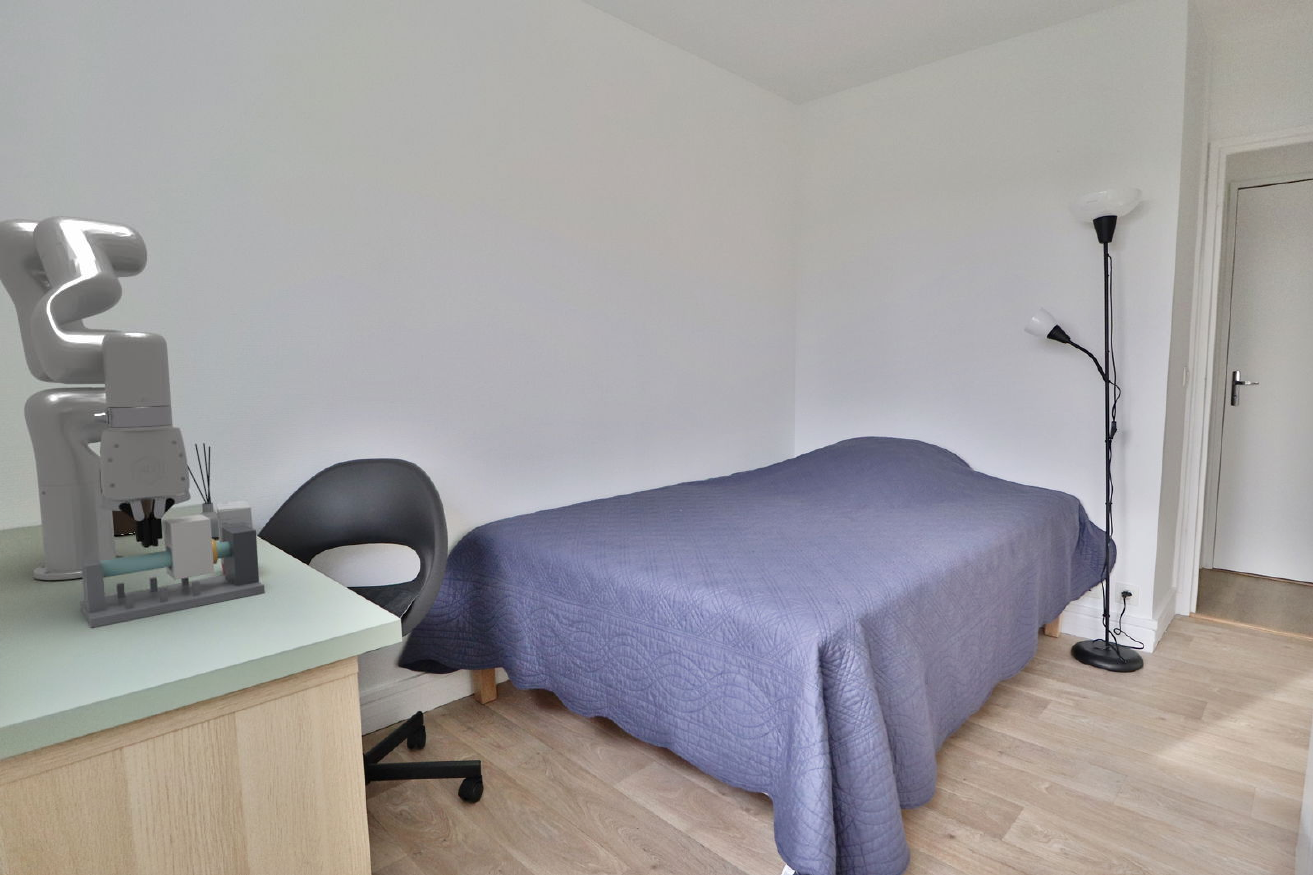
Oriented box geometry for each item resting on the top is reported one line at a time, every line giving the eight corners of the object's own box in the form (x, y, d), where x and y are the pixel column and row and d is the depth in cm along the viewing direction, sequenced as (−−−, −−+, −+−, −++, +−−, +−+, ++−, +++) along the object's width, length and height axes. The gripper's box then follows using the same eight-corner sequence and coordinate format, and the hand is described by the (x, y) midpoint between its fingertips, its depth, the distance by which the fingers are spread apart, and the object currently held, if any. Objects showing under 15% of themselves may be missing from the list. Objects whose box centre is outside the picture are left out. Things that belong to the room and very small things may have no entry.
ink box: (257, 576, 118) (253, 506, 117) (222, 581, 116) (217, 510, 115) (253, 565, 126) (249, 499, 125) (220, 570, 123) (215, 502, 122)
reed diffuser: (231, 540, 146) (224, 442, 144) (192, 546, 141) (185, 445, 139) (214, 533, 153) (208, 440, 151) (176, 539, 147) (169, 442, 146)
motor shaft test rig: (91, 627, 95) (86, 558, 94) (80, 609, 102) (75, 545, 102) (264, 592, 109) (261, 532, 109) (243, 578, 117) (239, 522, 116)
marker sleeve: (174, 579, 103) (170, 524, 103) (166, 573, 107) (162, 519, 106) (214, 572, 107) (210, 519, 106) (205, 566, 111) (201, 514, 110)
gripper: (76, 423, 94) (87, 559, 95) (207, 417, 104) (215, 541, 106) (70, 421, 99) (81, 550, 101) (195, 416, 110) (203, 533, 111)
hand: (149, 545), depth 103 cm, fingers closed
